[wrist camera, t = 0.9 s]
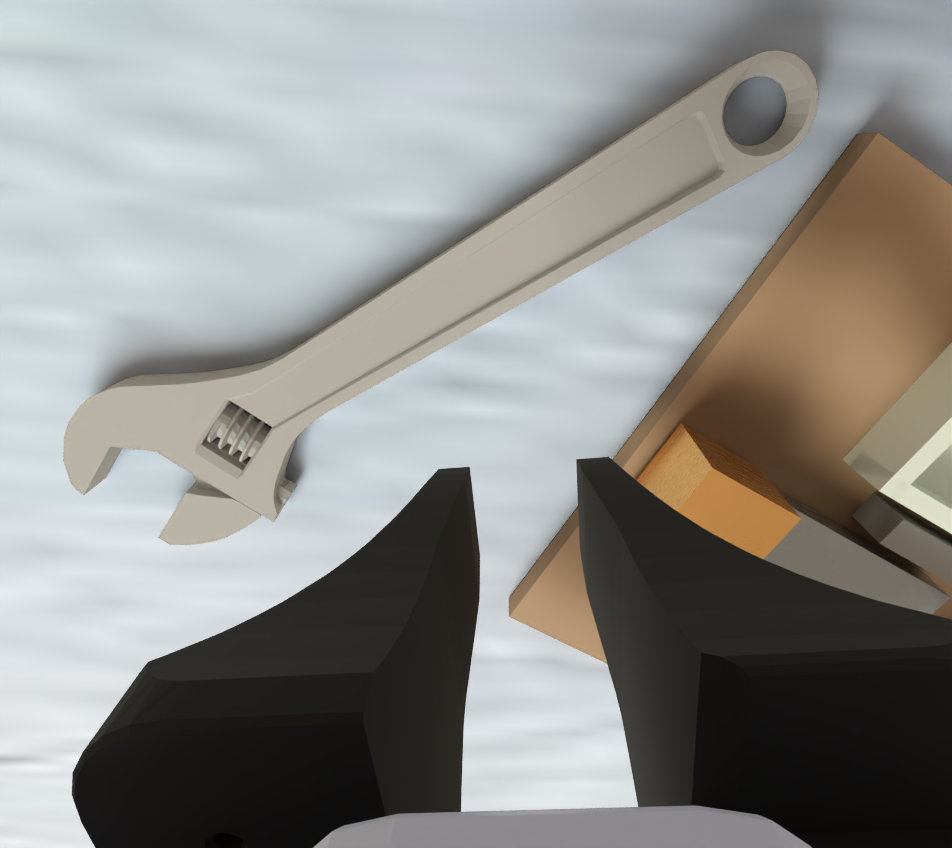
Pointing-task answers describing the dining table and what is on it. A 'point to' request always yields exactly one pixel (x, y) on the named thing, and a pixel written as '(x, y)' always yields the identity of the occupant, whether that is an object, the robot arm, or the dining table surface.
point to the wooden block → (778, 523)
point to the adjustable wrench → (425, 309)
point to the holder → (805, 370)
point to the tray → (914, 446)
